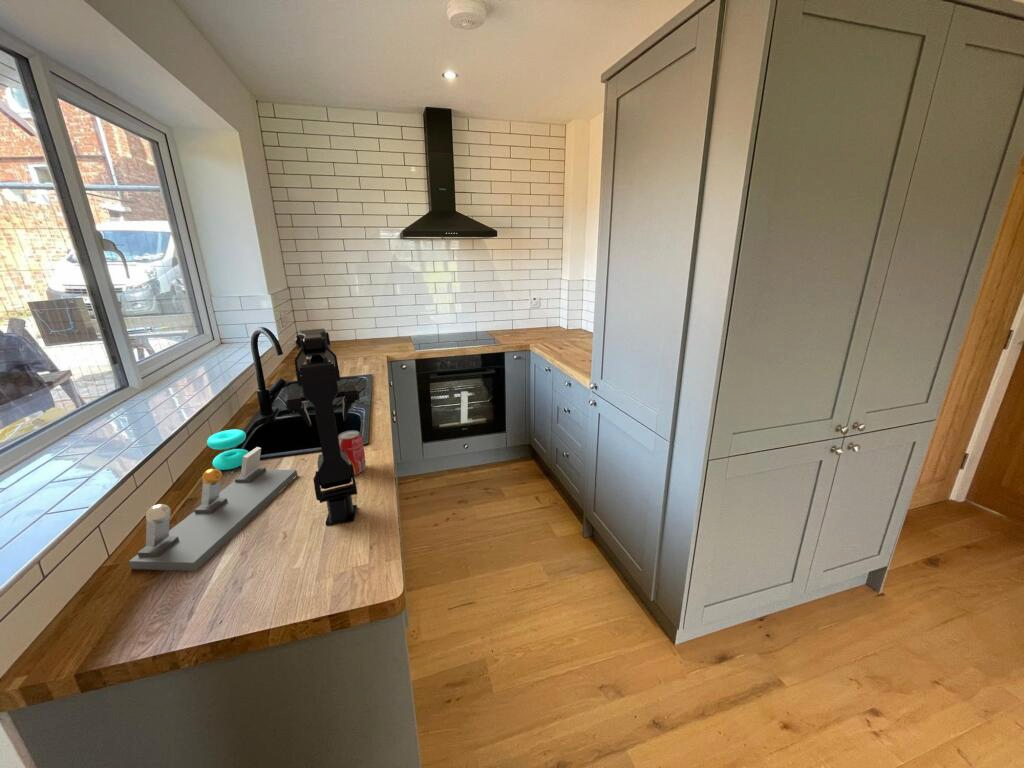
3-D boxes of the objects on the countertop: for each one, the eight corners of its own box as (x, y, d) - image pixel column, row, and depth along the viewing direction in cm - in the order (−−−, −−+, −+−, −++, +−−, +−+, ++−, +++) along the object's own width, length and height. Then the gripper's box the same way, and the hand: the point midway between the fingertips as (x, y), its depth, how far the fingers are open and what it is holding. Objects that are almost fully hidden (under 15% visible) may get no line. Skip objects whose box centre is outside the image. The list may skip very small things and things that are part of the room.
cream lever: (174, 536, 89) (176, 503, 87) (158, 549, 86) (160, 514, 83) (156, 531, 89) (157, 497, 86) (139, 544, 85) (140, 509, 83)
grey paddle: (258, 465, 119) (261, 447, 117) (245, 476, 113) (247, 457, 111) (254, 464, 119) (257, 446, 117) (240, 475, 113) (242, 456, 111)
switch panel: (297, 475, 120) (295, 466, 119) (196, 570, 84) (192, 558, 83) (251, 475, 121) (249, 466, 120) (131, 569, 85) (127, 557, 84)
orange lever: (224, 498, 104) (226, 468, 101) (212, 507, 100) (214, 476, 97) (208, 493, 103) (210, 463, 101) (196, 502, 100) (198, 471, 97)
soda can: (340, 468, 124) (335, 432, 121) (365, 463, 127) (360, 427, 123) (342, 479, 118) (336, 441, 114) (367, 473, 121) (362, 436, 117)
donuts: (197, 439, 122) (227, 426, 131) (205, 469, 125) (234, 454, 134) (224, 442, 120) (252, 429, 129) (231, 473, 123) (259, 457, 132)
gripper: (351, 359, 123) (357, 406, 129) (281, 368, 115) (292, 416, 122) (356, 373, 114) (362, 422, 120) (280, 382, 106) (291, 434, 113)
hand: (327, 423), depth 119 cm, fingers open, 9 cm apart
